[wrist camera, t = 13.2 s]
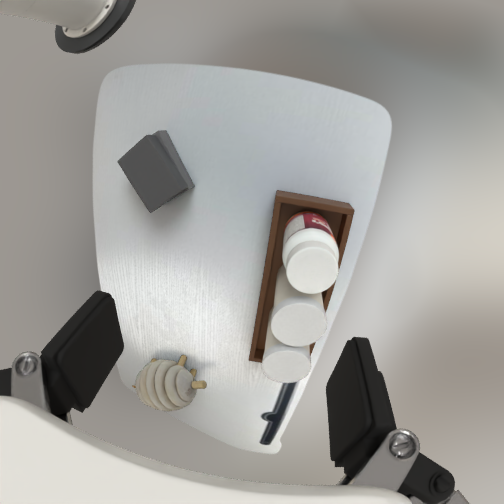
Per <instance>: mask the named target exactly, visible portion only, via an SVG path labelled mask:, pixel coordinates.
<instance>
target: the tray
mask: <svg viewBox="0 0 504 504" xmlns="http://www.w3.org/2000/svg"><path fill="white" fill-rule="evenodd" d="M302 211H313V212H316V213H318V214H320V215H321V216H323V217H324V218H325V219H326V221H327V222H328V224H329V226H330V229H331V231H332V234H333V236H334V239H335V241H336V244H337V247H338V250H339V260H338V267H339V268H340V265H341V261H342V257H343V254H344V250H345V246H346V243H347V239H348V235H349V231H350V227H351V223H352V219H353V215H354V209H353V208H352V206H351V205H350V204H349V203H345V202H340V201H335V200H330V199H324V198H319V197H314V196H308V195H303V194H297V193H291V192H285V191H279V190H277V192H276V197H275V204H274V210H273V217H272V223H271V230H270V236H269V242H268V249H267V255H266V261H265V267H264V273H263V279H262V285H261V291H260V297H259V303H258V309H257V315H256V321H255V327H254V333H253V338H252V344H251V350H250V356H249V361H255V362H261V363H262V360H263V355H264V351H265V344H266V336H267V328H268V320H269V313H270V311H271V309H272V308H273V307H274V299H275V289H276V279H277V273H278V270H279V269H280V267H281V266H282V265H283V258H282V253H283V240H284V229H285V226H286V224H287V222H288V220H289V219H290V218H291V217H292V216H293V215H295V214H297V213H299V212H302ZM338 272H339V271H338ZM335 282H336V281H335ZM335 282H334V283H333V285H332V286H331V287H330V288H328V289H327V290H325V291H323V292H321V294H322V300H323V306H324V310H325V313H326V310H327V307H328V304H329V301H330V298H331V295H332V292H333V288H334V285H335ZM314 345H315V342H314V343H312V344H310V345H309V348H310V356H311V353H312V350H313V348H314Z"/></svg>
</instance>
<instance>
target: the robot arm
mask: <svg viewBox="0 0 504 504" xmlns="http://www.w3.org/2000/svg"><path fill="white" fill-rule="evenodd" d="M116 1H117V0H0V14H5V15H13V16H18V17H23V18H29V19H34V20H38V21H43V22H47V23H51V24H55V25H59V26H62V28H63V32H64V34H65V35H66V36H68V37H71V38H80V37H83V36H85V35H87V34H89V33H91V32H92V31H94V30H95V29H96V28H97V27H99V26H100V25H101V24H102V23H103V22H104V20H105V19H106V18H107V17H108V16H109V14H110V13H111V11H112V10H113V8H114V6H115V4H116ZM123 349H124V343H123V338H122V334H121V330H120V325H119V321H118V316H117V311H116V306H115V301H114V299H113V298H112V296H111V295H110V294H109V293H106V292H102V291H96V292H95V293H94V294H93V295H92V296H91V297H90V298H89V299H88V300H87V301H86V302H85V303H84V304H83V306H82V307H81V308H80V309H79V310H78V311H77V312H76V313H75V314H74V315H73V316H72V317H71V318H70V319H69V320H68V322H67V323H66V324H65V325H64V326H63V327H62V328H61V330H60V331H59V332H58V333H57V334H56V335H55V336H54V337H53V339H52V340H51V341H50V342H49V343H48V344H47V345H46V347H45V348H44V349H43V350H42V351H41V353H42V355H41V356H40V357H39V356H38V355H37V354H36V353H34V352H24V353H21V354H20V355H18V356H17V357H16V358H15V360H14V362H13V364H12V368H8V369H4V370H0V504H469V503H468V501H467V500H466V499H465V498H464V496H463V495H462V494H461V493H460V491H459V490H457V491H455V490H454V486H455V481H454V477H453V476H452V474H451V473H450V472H449V471H448V470H446V469H444V468H443V467H441V466H439V465H438V464H437V463H435V462H433V461H432V460H430V459H429V458H427V457H426V456H424V455H423V454H421V453H420V452H419V450H420V443H419V440H418V438H417V437H416V435H415V434H414V433H412V432H411V431H409V430H406V429H397V428H396V424H395V420H394V416H393V412H392V408H391V403H390V400H389V396H388V392H387V388H386V385H385V381H384V378H383V375H382V373H381V372H380V371H378V369H377V366H376V362H375V359H374V355H373V352H372V349H371V346H370V342H369V340H368V339H367V338H361V337H353V338H352V340H348V341H347V343H346V345H345V347H344V349H343V351H342V353H341V356H340V358H339V360H338V362H337V364H336V366H335V368H334V371H333V372H332V374H331V376H330V378H329V380H328V383H327V386H326V396H327V407H328V422H329V438H330V457H331V460H332V461H335V467H344V473H345V476H344V477H343V478H342V479H341V480H340V481H339V482H338V483H337V484H336V485H290V484H274V483H263V482H252V481H246V480H238V479H232V478H226V477H220V476H215V475H210V474H205V473H200V472H196V471H192V470H188V469H184V468H180V467H177V466H173V465H169V464H166V463H162V462H159V461H156V460H153V459H150V458H147V457H144V456H141V455H139V454H136V453H133V452H130V451H128V450H125V449H123V448H120V447H118V446H115V445H113V444H110V443H108V442H106V441H103V440H101V439H99V438H97V437H95V436H93V435H91V434H89V433H86V432H84V431H82V430H80V429H78V428H77V427H75V426H73V424H72V420H71V415H70V410H71V408H74V409H76V410H78V411H80V412H83V411H84V409H85V408H88V407H89V406H90V405H91V403H92V401H93V399H94V398H95V396H96V394H97V393H98V391H99V389H100V388H101V386H102V384H103V383H104V381H105V379H106V378H107V376H108V374H109V373H110V371H111V370H112V368H113V366H114V365H115V363H116V361H117V360H118V358H119V357H120V355H121V354H122V352H123Z"/></svg>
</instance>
